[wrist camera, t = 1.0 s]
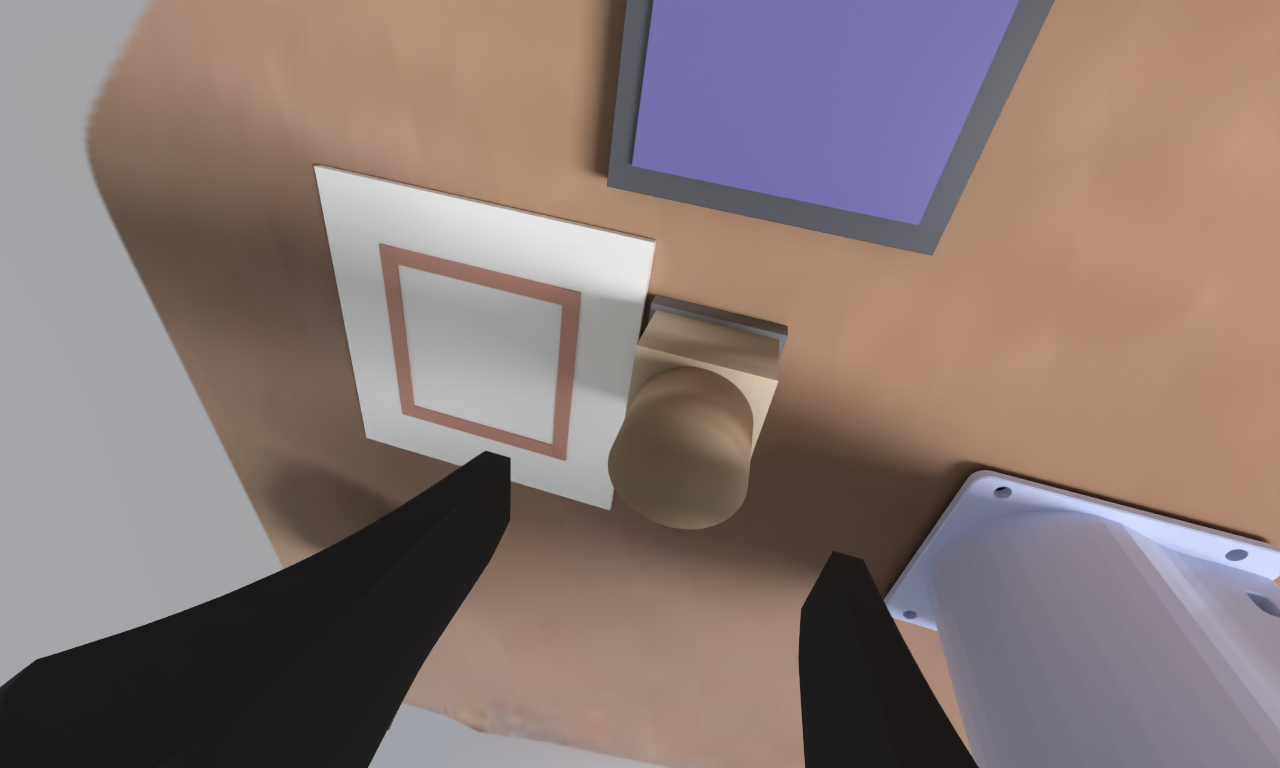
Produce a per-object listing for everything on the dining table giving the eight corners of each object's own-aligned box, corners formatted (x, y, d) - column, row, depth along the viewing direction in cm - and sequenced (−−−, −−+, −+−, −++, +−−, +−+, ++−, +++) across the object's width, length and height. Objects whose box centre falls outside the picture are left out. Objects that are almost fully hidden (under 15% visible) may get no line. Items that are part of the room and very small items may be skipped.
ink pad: (1147, -238, 9) (1191, -277, 8) (923, 245, 14) (933, 258, 13) (670, -280, 10) (658, -319, 9) (616, 180, 15) (604, 187, 14)
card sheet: (656, 240, 16) (653, 243, 15) (611, 505, 22) (609, 512, 22) (321, 164, 17) (311, 166, 17) (370, 434, 24) (365, 439, 23)
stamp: (787, 325, 16) (788, 433, 11) (751, 430, 19) (738, 558, 14) (656, 294, 17) (602, 384, 12) (637, 400, 19) (585, 512, 14)
